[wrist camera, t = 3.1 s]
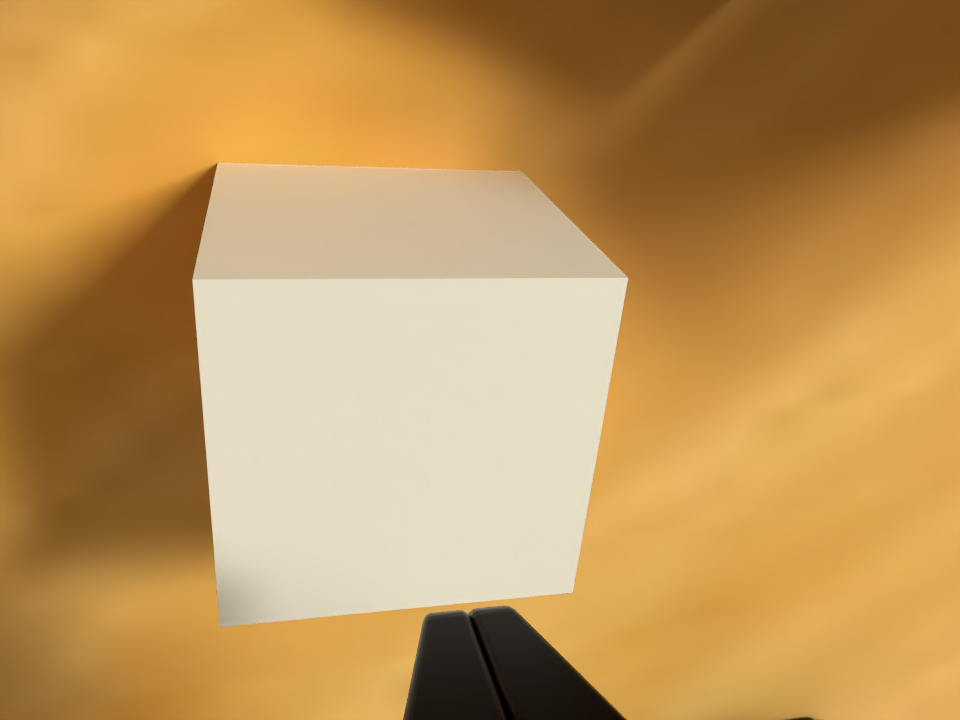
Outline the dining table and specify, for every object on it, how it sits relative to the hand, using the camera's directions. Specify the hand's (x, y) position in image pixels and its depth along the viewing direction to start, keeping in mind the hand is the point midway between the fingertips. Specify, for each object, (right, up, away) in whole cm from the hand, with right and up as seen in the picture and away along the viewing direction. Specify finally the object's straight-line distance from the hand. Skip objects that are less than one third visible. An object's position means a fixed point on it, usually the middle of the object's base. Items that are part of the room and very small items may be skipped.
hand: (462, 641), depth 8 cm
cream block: (-2, +4, +7) cm, 8 cm away
